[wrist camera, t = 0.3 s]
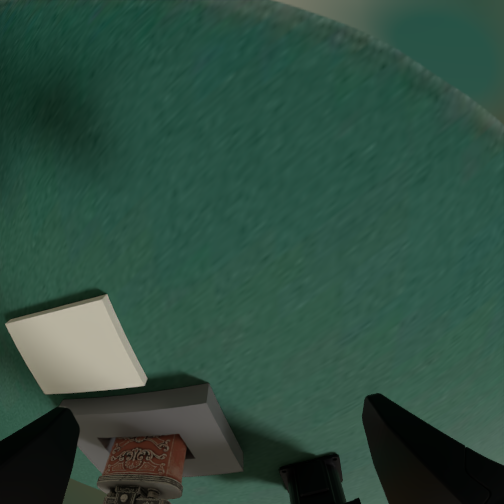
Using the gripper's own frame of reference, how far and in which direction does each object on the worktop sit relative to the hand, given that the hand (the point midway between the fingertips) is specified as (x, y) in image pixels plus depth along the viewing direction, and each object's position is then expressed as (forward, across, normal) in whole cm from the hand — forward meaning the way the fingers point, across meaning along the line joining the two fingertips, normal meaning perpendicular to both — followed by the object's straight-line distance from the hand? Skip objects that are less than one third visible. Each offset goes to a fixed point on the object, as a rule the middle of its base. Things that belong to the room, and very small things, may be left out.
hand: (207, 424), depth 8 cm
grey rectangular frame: (+14, +10, +16) cm, 24 cm away
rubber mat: (+14, +15, +6) cm, 21 cm away
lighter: (+14, +10, +16) cm, 24 cm away
